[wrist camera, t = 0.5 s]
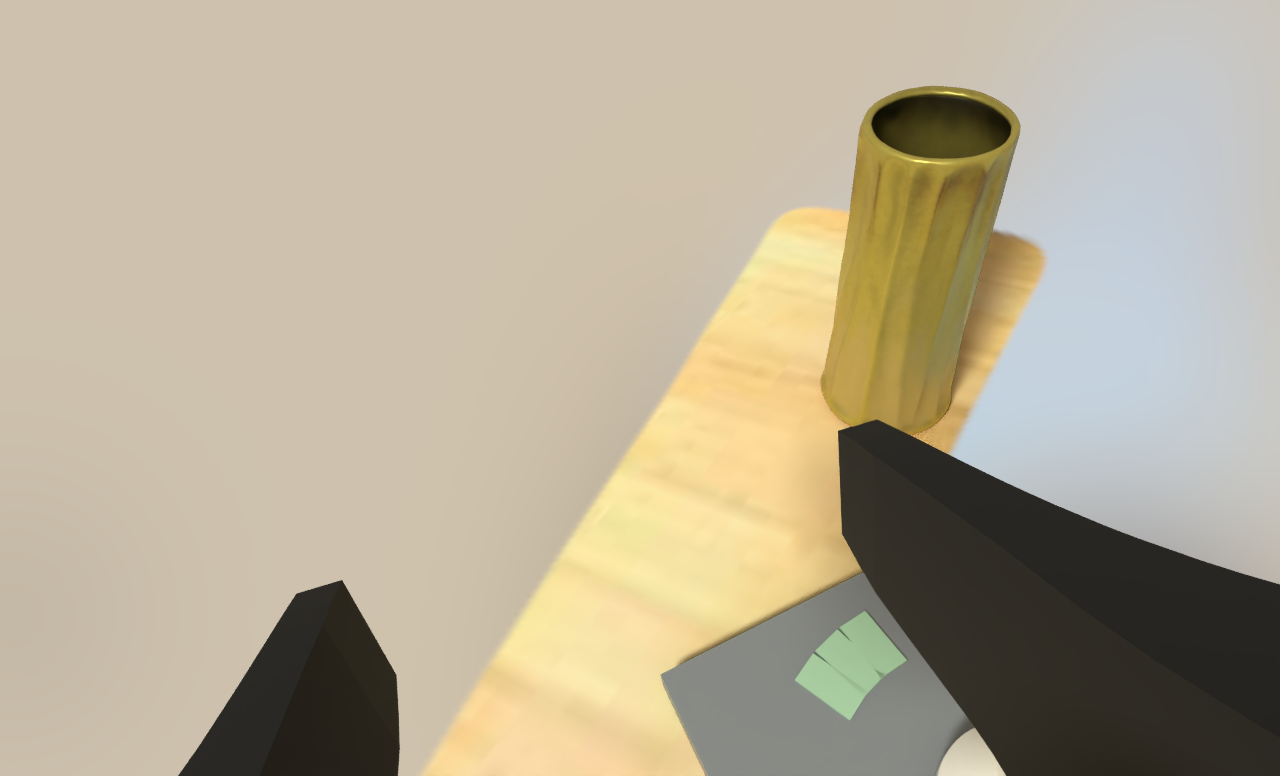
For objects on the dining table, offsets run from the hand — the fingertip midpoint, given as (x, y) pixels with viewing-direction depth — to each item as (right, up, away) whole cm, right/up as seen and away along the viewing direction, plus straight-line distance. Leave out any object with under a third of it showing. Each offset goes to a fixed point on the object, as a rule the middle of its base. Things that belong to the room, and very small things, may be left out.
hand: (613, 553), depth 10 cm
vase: (+12, +2, +25) cm, 28 cm away
